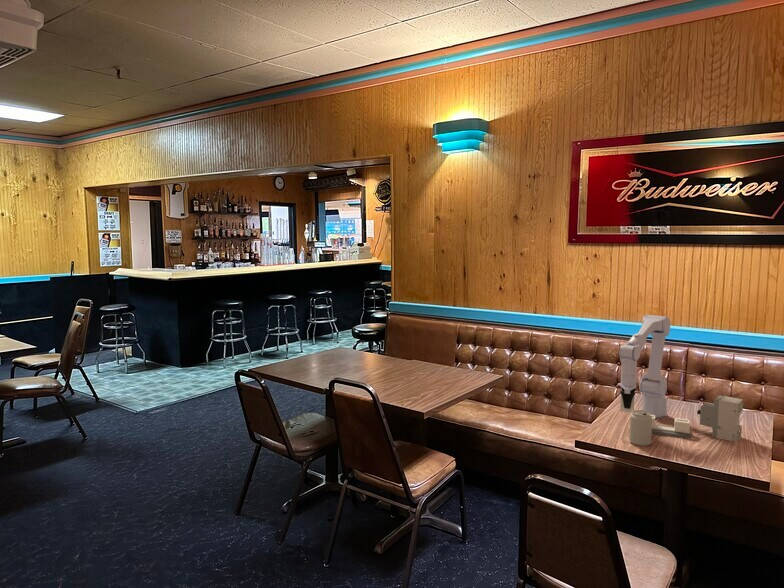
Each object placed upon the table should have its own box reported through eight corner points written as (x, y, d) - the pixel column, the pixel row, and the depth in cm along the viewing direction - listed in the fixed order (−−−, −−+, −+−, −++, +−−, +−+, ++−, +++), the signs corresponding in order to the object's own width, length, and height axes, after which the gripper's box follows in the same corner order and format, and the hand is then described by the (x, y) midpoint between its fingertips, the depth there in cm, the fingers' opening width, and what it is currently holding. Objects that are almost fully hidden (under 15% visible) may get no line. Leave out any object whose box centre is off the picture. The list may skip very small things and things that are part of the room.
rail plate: (639, 431, 210) (639, 418, 210) (639, 424, 218) (640, 411, 218) (690, 438, 202) (691, 424, 202) (689, 431, 210) (690, 417, 210)
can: (652, 448, 193) (653, 416, 192) (629, 445, 196) (631, 414, 195) (649, 441, 200) (651, 410, 199) (628, 438, 203) (629, 408, 202)
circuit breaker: (700, 428, 214) (702, 392, 213) (741, 437, 204) (743, 399, 203) (694, 432, 209) (696, 395, 208) (736, 442, 199) (738, 403, 197)
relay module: (620, 411, 215) (620, 396, 214) (620, 408, 219) (621, 393, 218) (633, 412, 213) (634, 398, 212) (634, 409, 217) (634, 395, 216)
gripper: (619, 369, 223) (618, 400, 224) (616, 377, 210) (615, 410, 211) (637, 371, 219) (636, 402, 221) (636, 379, 206) (635, 412, 208)
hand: (627, 406), depth 216 cm, fingers closed on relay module, 4 cm apart
